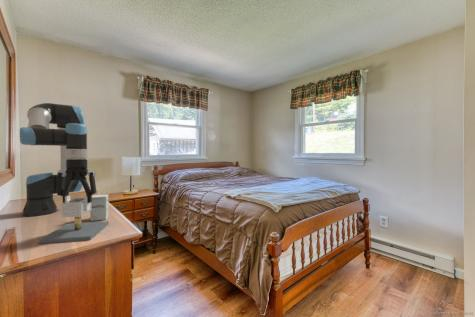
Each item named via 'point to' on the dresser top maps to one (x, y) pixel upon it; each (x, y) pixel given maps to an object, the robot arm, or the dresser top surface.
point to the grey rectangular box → (74, 207)
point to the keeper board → (74, 232)
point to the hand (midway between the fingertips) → (77, 210)
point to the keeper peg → (77, 223)
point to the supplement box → (99, 207)
